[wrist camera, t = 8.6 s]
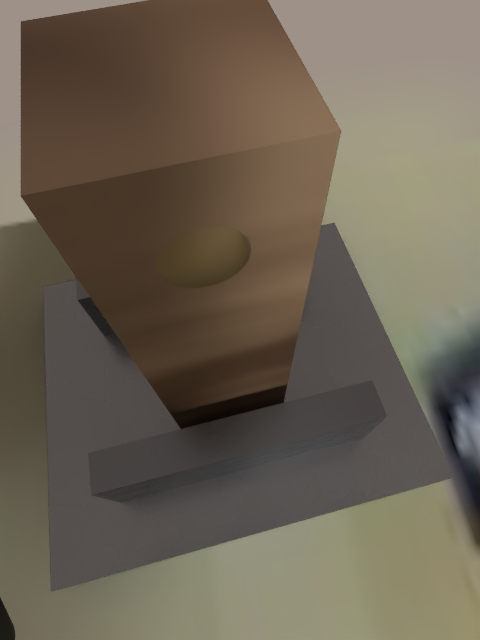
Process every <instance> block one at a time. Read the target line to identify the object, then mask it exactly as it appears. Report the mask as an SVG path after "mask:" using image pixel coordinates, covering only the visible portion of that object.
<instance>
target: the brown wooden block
mask: <svg viewBox="0 0 480 640" xmlns="http://www.w3.org/2000/svg"><path fill="white" fill-rule="evenodd" d="M340 134H341V129H340V128H339V126H338V124H337V122H336V121H335V119H334V117H333V115H332V114H331V112H330V110H329V108H328V107H327V105H326V103H325V101H324V100H323V98H322V96H321V94H320V92H319V91H318V89H317V87H316V85H315V84H314V82H313V80H312V78H311V77H310V75H309V73H308V71H307V69H306V68H305V66H304V64H303V62H302V61H301V59H300V57H299V55H298V54H297V52H296V50H295V48H294V46H293V45H292V43H291V41H290V39H289V38H288V36H287V34H286V32H285V31H284V29H283V27H282V25H281V23H280V22H279V20H278V18H277V16H276V15H275V13H274V11H273V9H272V8H271V6H270V4H269V2H268V1H267V0H148V1H142V2H136V3H130V4H124V5H118V6H112V7H106V8H99V9H94V10H88V11H81V12H75V13H69V14H63V15H58V16H52V17H45V18H39V19H33V20H27V21H21V197H22V198H23V200H24V201H25V203H26V204H27V206H28V207H29V209H30V210H31V211H32V213H33V214H34V216H35V217H36V219H37V220H38V222H39V223H40V225H41V226H42V227H43V229H44V230H45V232H46V233H47V235H48V236H49V238H50V239H51V241H52V242H53V244H54V245H55V246H56V248H57V249H58V251H59V252H60V254H61V255H62V257H63V258H64V260H65V261H66V262H67V264H68V265H69V267H70V268H71V270H72V271H73V273H74V274H75V276H76V277H77V279H78V280H79V281H80V283H81V284H82V286H83V287H84V289H85V290H86V292H87V293H88V295H89V296H90V297H91V299H92V300H93V302H94V303H95V305H96V306H97V308H98V309H99V311H100V312H101V314H102V315H103V316H104V318H105V319H106V321H107V322H108V324H109V325H110V327H111V328H112V330H113V331H114V332H115V334H116V335H117V337H118V338H119V340H120V341H121V343H122V344H123V346H124V347H125V349H126V350H127V351H128V353H129V354H130V356H131V357H132V359H133V360H134V362H135V363H136V365H137V366H138V367H139V369H140V370H141V372H142V373H143V375H144V376H145V378H146V379H147V381H148V382H149V384H150V385H151V386H152V388H153V389H154V391H155V392H156V394H157V395H158V397H159V398H160V400H161V401H162V402H163V404H164V405H165V407H166V408H167V410H168V411H169V413H170V414H171V416H172V417H173V419H174V420H175V421H176V423H177V424H178V426H179V427H180V429H183V428H187V427H191V426H195V425H199V424H203V423H207V422H211V421H215V420H218V419H222V418H226V417H230V416H234V415H238V414H242V413H246V412H250V411H253V410H257V409H261V408H265V407H269V406H273V405H277V404H281V403H284V399H285V394H286V389H287V384H288V380H289V375H290V370H291V366H292V361H293V356H294V351H295V347H296V342H297V337H298V333H299V328H300V323H301V318H302V314H303V309H304V304H305V299H306V295H307V290H308V285H309V281H310V276H311V271H312V266H313V262H314V257H315V252H316V248H317V243H318V238H319V233H320V229H321V224H322V219H323V215H324V210H325V205H326V200H327V196H328V191H329V186H330V182H331V177H332V172H333V167H334V163H335V158H336V153H337V148H338V143H339V139H340Z"/></svg>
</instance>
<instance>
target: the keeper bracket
mask: <svg viewBox="0 0 480 640" xmlns="http://www.w3.org/2000/svg"><path fill="white" fill-rule="evenodd" d="M43 294H44V334H45V373H46V413H47V453H48V493H49V533H50V573H51V591H55V590H58V589H62V588H66V587H69V586H73V585H76V584H80V583H83V582H87V581H90V580H94V579H97V578H101V577H105V576H108V575H112V574H115V573H119V572H122V571H126V570H129V569H133V568H136V567H140V566H143V565H147V564H150V563H154V562H157V561H161V560H164V559H168V558H172V557H175V556H179V555H182V554H186V553H189V552H193V551H196V550H200V549H203V548H207V547H210V546H214V545H217V544H221V543H224V542H228V541H231V540H235V539H239V538H242V537H246V536H249V535H253V534H256V533H260V532H263V531H267V530H270V529H274V528H277V527H281V526H284V525H288V524H291V523H295V522H298V521H302V520H306V519H309V518H313V517H316V516H320V515H323V514H327V513H330V512H334V511H337V510H341V509H344V508H348V507H351V506H355V505H358V504H362V503H365V502H369V501H373V500H376V499H380V498H383V497H387V496H390V495H394V494H397V493H401V492H404V491H408V490H411V489H415V488H418V487H422V486H425V485H429V484H432V483H436V482H440V481H443V480H446V479H450V478H453V477H454V476H453V474H452V472H451V470H450V468H449V466H448V464H447V461H446V459H445V457H444V455H443V453H442V451H441V449H440V447H439V444H438V442H437V440H436V438H435V436H434V434H433V432H432V430H431V427H430V425H429V423H428V421H427V419H426V417H425V415H424V413H423V410H422V408H421V406H420V404H419V402H418V400H417V398H416V395H415V393H414V391H413V389H412V387H411V385H410V383H409V381H408V378H407V376H406V374H405V372H404V370H403V368H402V366H401V364H400V361H399V359H398V357H397V355H396V353H395V351H394V349H393V347H392V344H391V342H390V340H389V338H388V336H387V334H386V332H385V329H384V327H383V325H382V323H381V321H380V319H379V317H378V315H377V312H376V310H375V308H374V306H373V304H372V302H371V300H370V298H369V295H368V293H367V291H366V289H365V287H364V285H363V283H362V281H361V278H360V276H359V274H358V272H357V270H356V268H355V266H354V264H353V261H352V259H351V257H350V255H349V253H348V251H347V249H346V246H345V244H344V242H343V240H342V238H341V236H340V234H339V232H338V229H337V227H336V225H335V223H332V224H327V225H322V226H321V229H320V233H319V238H318V243H317V248H316V252H315V257H314V262H313V266H312V271H311V276H310V281H309V285H308V290H307V295H306V299H305V304H304V309H303V314H302V318H301V323H300V328H299V333H298V337H297V342H296V347H295V351H294V356H293V361H292V366H291V370H290V375H289V380H288V384H287V389H286V394H285V399H284V403H281V404H277V405H273V406H269V407H265V408H261V409H257V410H253V411H250V412H246V413H242V414H238V415H234V416H230V417H226V418H222V419H218V420H215V421H211V422H207V423H203V424H199V425H195V426H191V427H187V428H183V429H180V427H179V426H178V424H177V423H176V421H175V420H174V419H173V417H172V416H171V414H170V413H169V411H168V410H167V408H166V407H165V405H164V404H163V402H162V401H161V400H160V398H159V397H158V395H157V394H156V392H155V391H154V389H153V388H152V386H151V385H150V384H149V382H148V381H147V379H146V378H145V376H144V375H143V373H142V372H141V370H140V369H139V367H138V366H137V365H136V363H135V362H134V360H133V359H132V357H131V356H130V354H129V353H128V351H127V350H126V349H125V347H124V346H123V344H122V343H121V341H120V340H119V338H118V337H117V335H116V334H115V332H114V331H113V330H112V328H111V327H110V325H109V324H108V322H107V321H106V319H105V318H104V316H103V315H102V314H101V312H100V311H99V309H98V308H97V306H96V305H95V303H94V302H93V300H92V299H91V297H90V296H89V295H88V293H87V292H86V290H85V289H84V287H83V286H82V284H81V283H80V281H79V280H78V279H77V277H76V280H72V281H68V282H63V283H58V284H54V285H49V286H45V287H43Z"/></svg>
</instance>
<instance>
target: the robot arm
mask: <svg viewBox="0 0 480 640" xmlns="http://www.w3.org/2000/svg"><path fill="white" fill-rule="evenodd" d="M0 640H15V630H14V626H13V623H12V621H11V619H10V617H9V615H8V613H7V611H6V609H5V607H4V605H3V602H2V600H1V598H0Z"/></svg>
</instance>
